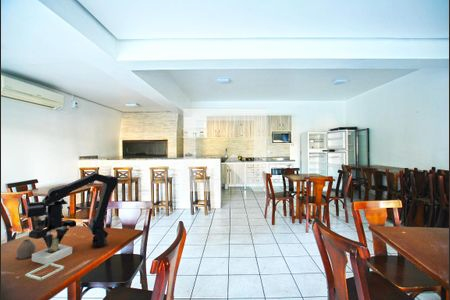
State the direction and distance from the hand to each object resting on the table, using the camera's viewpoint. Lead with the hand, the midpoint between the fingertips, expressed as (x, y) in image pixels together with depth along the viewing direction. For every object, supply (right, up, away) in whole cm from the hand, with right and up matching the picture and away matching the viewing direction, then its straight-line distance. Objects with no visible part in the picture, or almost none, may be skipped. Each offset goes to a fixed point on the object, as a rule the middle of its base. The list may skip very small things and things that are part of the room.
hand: (53, 245), depth 108 cm
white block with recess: (-1, -6, 0) cm, 6 cm away
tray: (+6, -7, -12) cm, 15 cm away
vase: (-13, -6, 0) cm, 14 cm away
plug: (0, -4, 0) cm, 4 cm away
